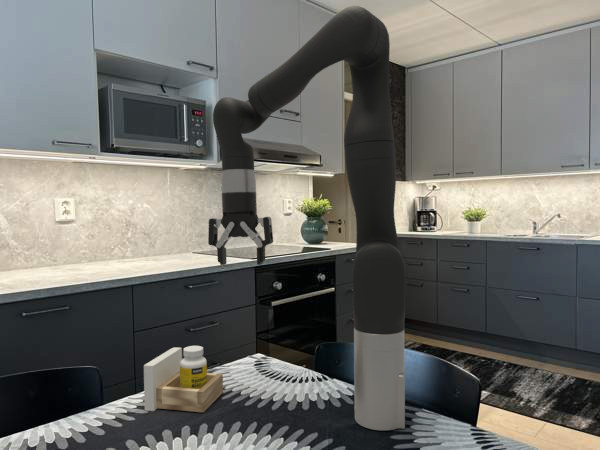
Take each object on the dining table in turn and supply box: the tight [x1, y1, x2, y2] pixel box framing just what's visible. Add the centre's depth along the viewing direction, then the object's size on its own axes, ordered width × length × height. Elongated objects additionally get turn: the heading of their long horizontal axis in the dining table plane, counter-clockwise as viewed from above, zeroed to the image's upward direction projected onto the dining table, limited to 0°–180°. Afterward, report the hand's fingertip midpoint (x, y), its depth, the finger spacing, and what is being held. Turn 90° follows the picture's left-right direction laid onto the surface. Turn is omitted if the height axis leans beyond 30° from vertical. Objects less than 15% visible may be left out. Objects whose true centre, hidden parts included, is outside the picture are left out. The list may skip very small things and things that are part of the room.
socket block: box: [156, 371, 224, 413], centre depth 95 cm, size 10×10×4 cm
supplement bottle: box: [180, 345, 208, 389], centre depth 94 cm, size 5×5×10 cm
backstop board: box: [143, 347, 183, 412], centre depth 96 cm, size 2×12×9 cm, turn 167°
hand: (241, 264), depth 101 cm, fingers open, 8 cm apart
